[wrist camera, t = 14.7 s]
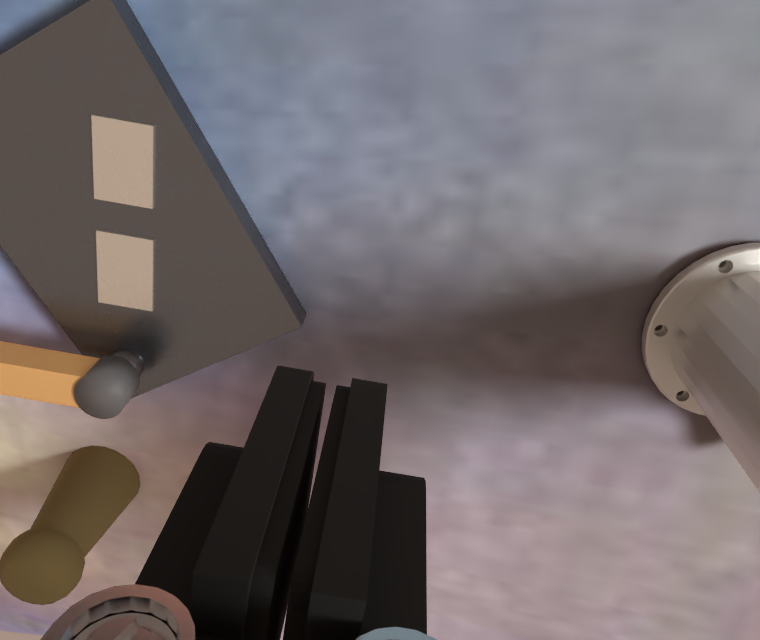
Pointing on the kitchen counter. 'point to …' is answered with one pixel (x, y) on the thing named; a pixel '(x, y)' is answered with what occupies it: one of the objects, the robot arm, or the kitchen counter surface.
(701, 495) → the kitchen counter surface
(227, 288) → the plate
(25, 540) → the cork
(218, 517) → the robot arm
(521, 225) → the kitchen counter surface
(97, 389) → the wooden bar
